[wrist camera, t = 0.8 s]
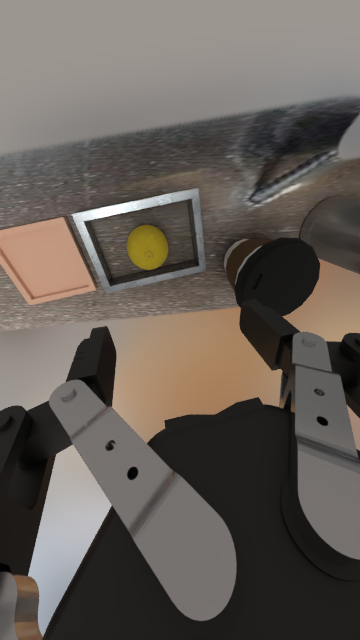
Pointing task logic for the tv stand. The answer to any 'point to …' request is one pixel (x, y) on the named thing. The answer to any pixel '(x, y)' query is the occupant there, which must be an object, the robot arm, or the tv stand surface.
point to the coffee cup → (272, 272)
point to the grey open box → (151, 275)
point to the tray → (45, 261)
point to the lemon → (147, 247)
